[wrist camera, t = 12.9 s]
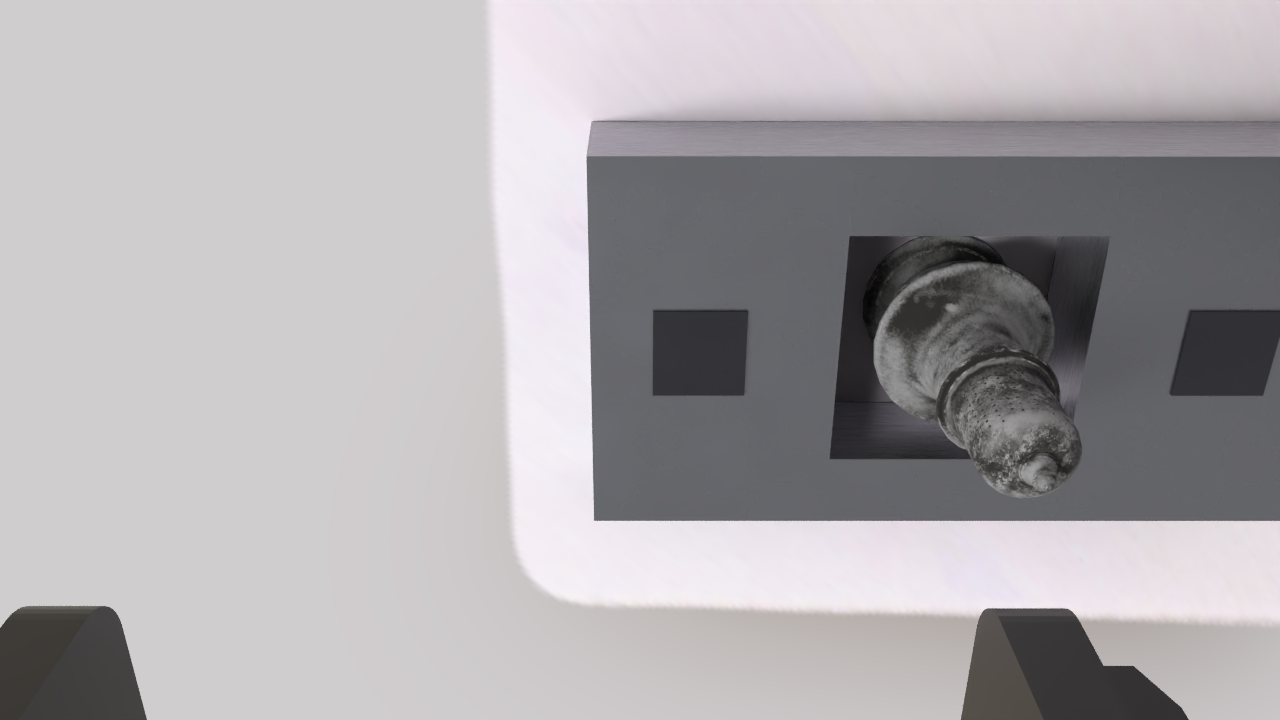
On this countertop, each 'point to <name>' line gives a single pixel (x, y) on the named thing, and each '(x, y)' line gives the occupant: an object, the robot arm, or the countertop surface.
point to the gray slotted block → (929, 206)
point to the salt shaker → (973, 359)
